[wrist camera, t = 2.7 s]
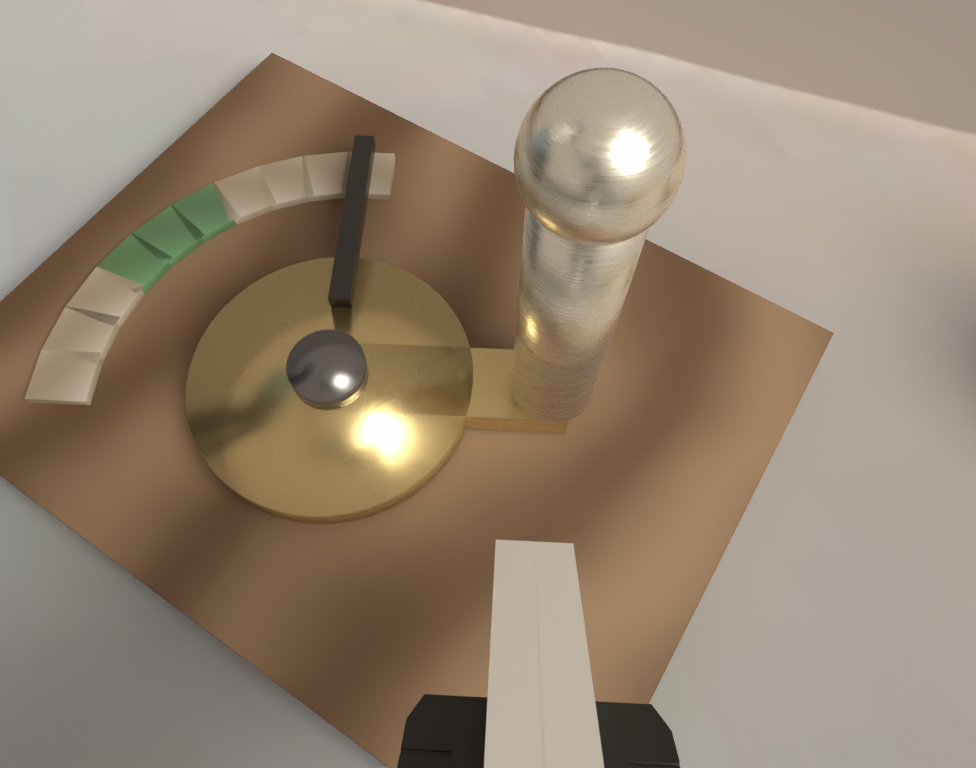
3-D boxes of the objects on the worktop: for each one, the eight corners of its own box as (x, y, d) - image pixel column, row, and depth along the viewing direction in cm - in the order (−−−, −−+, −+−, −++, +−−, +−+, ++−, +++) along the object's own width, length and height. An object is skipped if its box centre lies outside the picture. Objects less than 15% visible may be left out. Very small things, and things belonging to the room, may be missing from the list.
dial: (125, 417, 23) (-220, 122, 12) (366, 157, 28) (286, -234, 17) (454, 644, 20) (417, 541, 9) (662, 312, 25) (810, -33, 14)
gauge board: (-72, 415, 25) (-110, 393, 23) (280, 81, 32) (270, 46, 30) (549, 880, 19) (555, 894, 18) (815, 353, 26) (837, 328, 25)
